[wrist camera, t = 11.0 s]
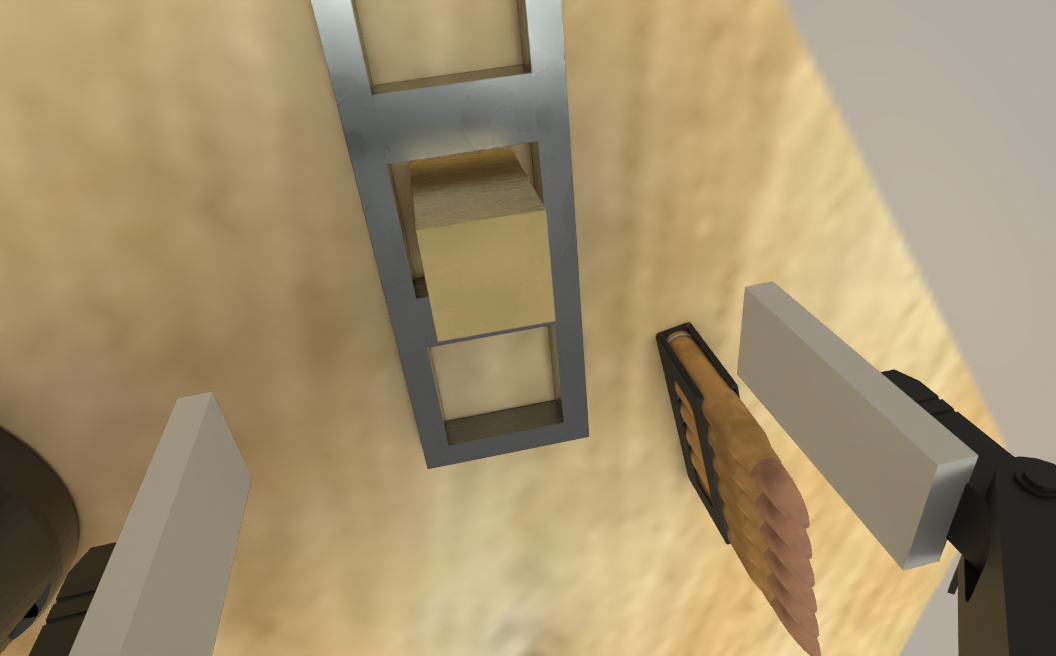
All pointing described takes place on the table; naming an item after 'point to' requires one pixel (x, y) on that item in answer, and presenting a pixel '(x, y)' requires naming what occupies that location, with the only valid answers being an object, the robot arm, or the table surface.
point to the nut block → (482, 244)
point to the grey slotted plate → (450, 128)
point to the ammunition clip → (741, 481)
